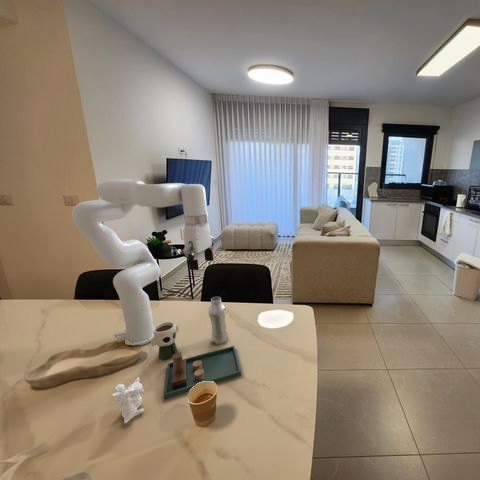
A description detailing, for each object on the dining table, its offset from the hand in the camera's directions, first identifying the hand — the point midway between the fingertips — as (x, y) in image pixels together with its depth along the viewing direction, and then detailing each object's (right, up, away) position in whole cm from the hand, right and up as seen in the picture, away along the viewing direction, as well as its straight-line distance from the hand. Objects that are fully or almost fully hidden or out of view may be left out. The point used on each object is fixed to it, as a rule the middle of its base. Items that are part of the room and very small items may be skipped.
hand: (202, 264), depth 97 cm
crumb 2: (+2, -38, -6) cm, 39 cm away
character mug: (-15, -36, +4) cm, 39 cm away
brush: (-4, -38, -7) cm, 39 cm away
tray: (+2, -38, -3) cm, 39 cm away
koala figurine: (-12, -43, -20) cm, 49 cm away
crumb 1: (0, -37, -2) cm, 37 cm away
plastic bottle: (+2, -34, +13) cm, 36 cm away
